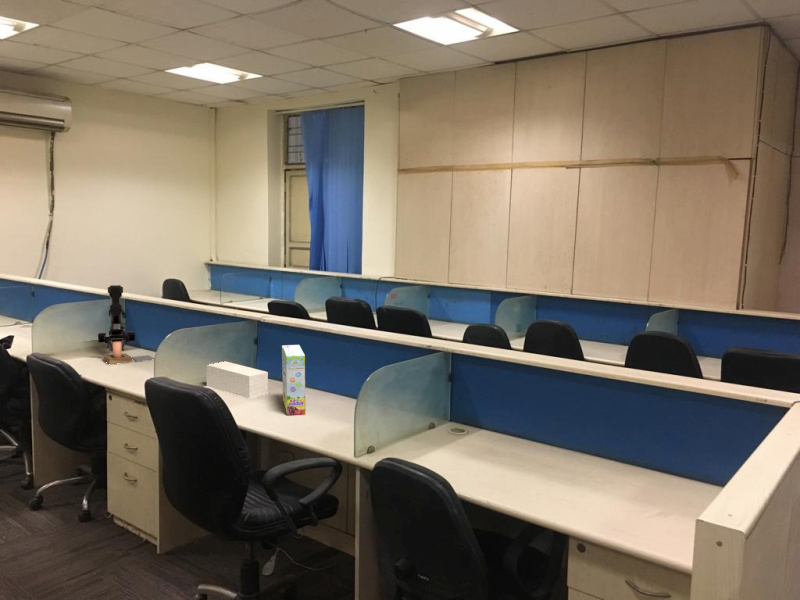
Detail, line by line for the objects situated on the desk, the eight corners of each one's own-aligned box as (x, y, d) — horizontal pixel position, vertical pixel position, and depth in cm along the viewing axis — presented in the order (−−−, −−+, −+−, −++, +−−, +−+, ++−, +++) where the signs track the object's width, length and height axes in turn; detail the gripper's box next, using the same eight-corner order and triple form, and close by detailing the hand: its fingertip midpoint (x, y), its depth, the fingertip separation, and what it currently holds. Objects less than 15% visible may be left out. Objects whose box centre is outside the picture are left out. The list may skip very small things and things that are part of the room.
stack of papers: (206, 386, 304) (206, 364, 302) (225, 382, 312) (224, 361, 311) (249, 399, 284) (249, 376, 283) (267, 394, 293) (267, 372, 291)
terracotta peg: (111, 361, 348) (111, 341, 347) (120, 360, 351) (119, 341, 350) (114, 363, 345) (113, 343, 343) (123, 362, 348) (122, 342, 346)
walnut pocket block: (103, 361, 349) (103, 355, 348) (125, 358, 356) (124, 353, 356) (109, 365, 340) (109, 359, 340) (131, 362, 347) (131, 357, 347)
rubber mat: (130, 358, 356) (130, 357, 356) (148, 356, 363) (148, 355, 362) (136, 361, 349) (136, 360, 348) (154, 359, 355) (154, 358, 355)
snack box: (280, 401, 282) (281, 344, 279) (300, 400, 284) (301, 344, 281) (285, 416, 261) (285, 355, 258) (306, 415, 264) (306, 354, 260)
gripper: (97, 318, 345) (97, 342, 336) (134, 317, 352) (135, 340, 344) (98, 330, 353) (98, 353, 344) (134, 328, 360) (135, 351, 352)
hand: (117, 349), depth 346 cm, fingers open, 5 cm apart
